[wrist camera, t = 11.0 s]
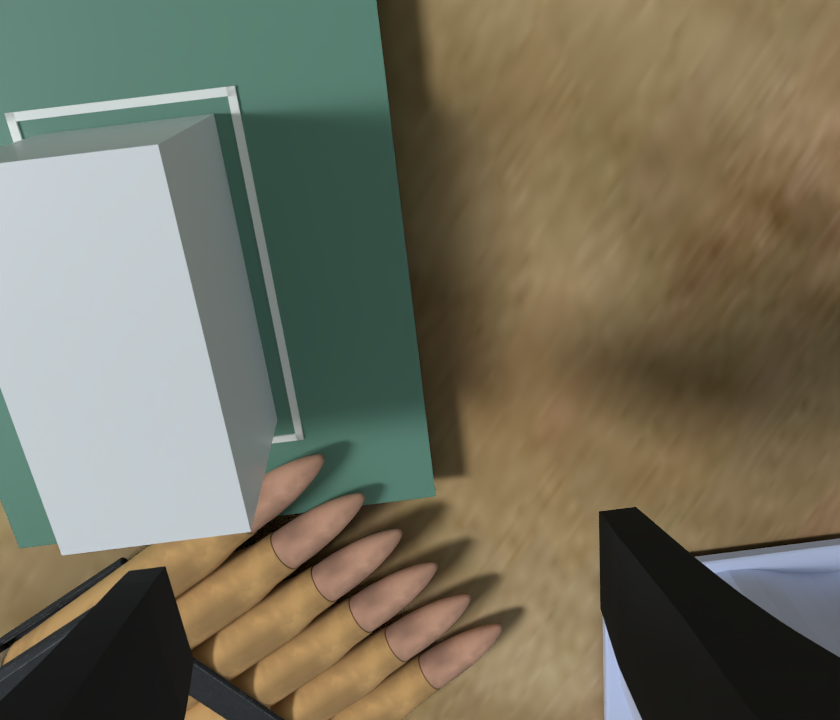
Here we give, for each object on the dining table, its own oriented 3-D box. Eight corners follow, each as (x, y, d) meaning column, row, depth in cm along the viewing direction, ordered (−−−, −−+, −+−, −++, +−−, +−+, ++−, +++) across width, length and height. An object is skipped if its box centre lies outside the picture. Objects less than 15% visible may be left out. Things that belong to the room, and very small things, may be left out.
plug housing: (214, 113, 17) (158, 144, 13) (277, 420, 21) (250, 531, 16) (39, 133, 17) (-79, 172, 13) (130, 438, 21) (61, 555, 16)
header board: (369, -48, 17) (369, -71, 13) (433, 477, 23) (446, 576, 19) (-162, 15, 17) (-331, 11, 13) (34, 527, 23) (-41, 638, 19)
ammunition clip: (-30, 692, 21) (300, 454, 19) (-7, 640, 23) (299, 415, 21) (237, 841, 26) (525, 664, 24) (240, 789, 28) (510, 619, 26)
